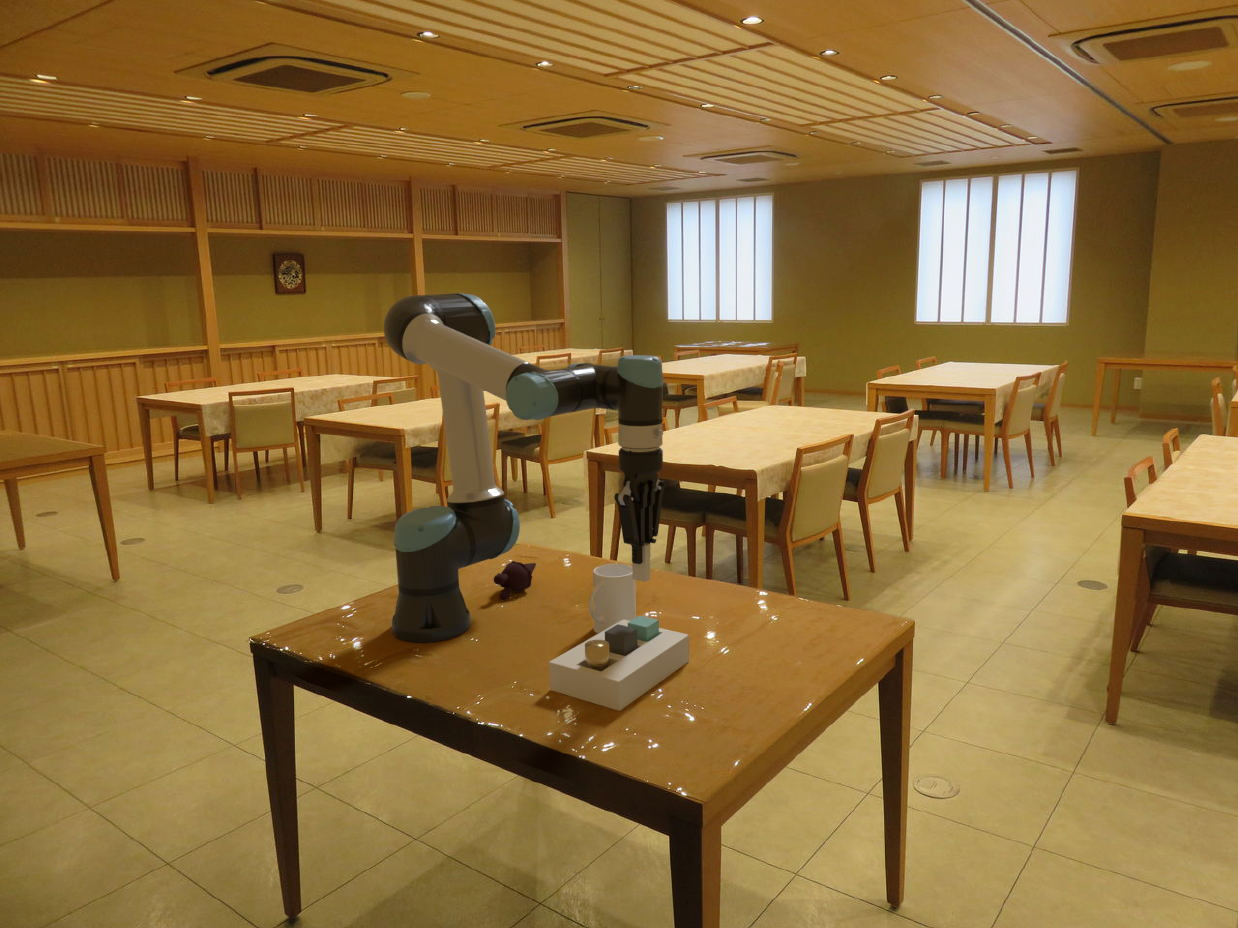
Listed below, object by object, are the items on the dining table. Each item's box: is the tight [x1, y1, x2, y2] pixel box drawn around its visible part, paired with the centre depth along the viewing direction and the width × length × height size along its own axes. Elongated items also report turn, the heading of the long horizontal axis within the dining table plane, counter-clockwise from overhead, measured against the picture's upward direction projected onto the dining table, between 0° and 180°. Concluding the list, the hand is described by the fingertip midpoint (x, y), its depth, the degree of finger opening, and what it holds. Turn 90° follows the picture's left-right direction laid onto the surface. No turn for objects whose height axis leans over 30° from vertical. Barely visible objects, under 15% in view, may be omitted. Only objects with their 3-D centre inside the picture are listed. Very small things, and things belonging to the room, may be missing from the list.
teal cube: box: [628, 615, 660, 642], centre depth 160 cm, size 4×4×4 cm
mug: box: [588, 563, 637, 635], centre depth 174 cm, size 12×8×12 cm
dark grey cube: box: [605, 624, 638, 656], centre depth 154 cm, size 4×4×4 cm
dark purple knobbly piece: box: [493, 560, 537, 601], centre depth 198 cm, size 7×7×15 cm
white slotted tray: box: [548, 619, 690, 712], centre depth 155 cm, size 14×22×5 cm, turn 146°
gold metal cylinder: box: [585, 640, 610, 671], centre depth 149 cm, size 4×4×4 cm
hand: (641, 579), depth 158 cm, fingers closed
